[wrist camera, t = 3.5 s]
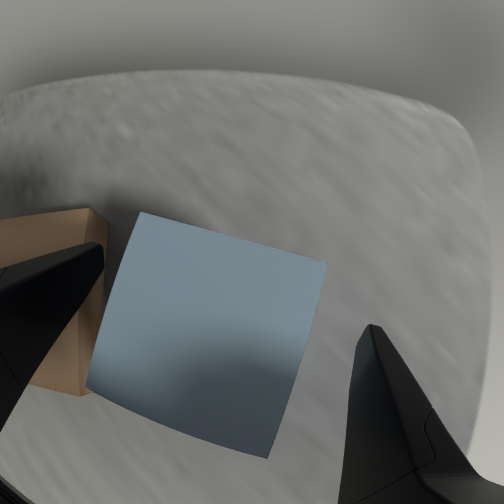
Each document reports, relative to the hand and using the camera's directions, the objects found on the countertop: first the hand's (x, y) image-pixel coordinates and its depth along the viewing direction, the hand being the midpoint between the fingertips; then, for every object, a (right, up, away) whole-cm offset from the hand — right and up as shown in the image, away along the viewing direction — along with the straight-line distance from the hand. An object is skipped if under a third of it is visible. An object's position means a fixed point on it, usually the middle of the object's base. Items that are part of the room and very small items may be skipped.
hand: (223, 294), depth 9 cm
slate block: (0, -3, +6) cm, 7 cm away
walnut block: (-13, -2, +8) cm, 15 cm away
